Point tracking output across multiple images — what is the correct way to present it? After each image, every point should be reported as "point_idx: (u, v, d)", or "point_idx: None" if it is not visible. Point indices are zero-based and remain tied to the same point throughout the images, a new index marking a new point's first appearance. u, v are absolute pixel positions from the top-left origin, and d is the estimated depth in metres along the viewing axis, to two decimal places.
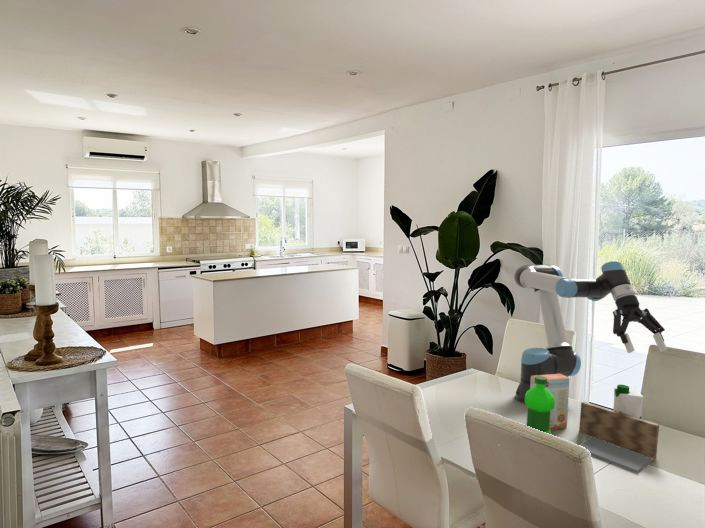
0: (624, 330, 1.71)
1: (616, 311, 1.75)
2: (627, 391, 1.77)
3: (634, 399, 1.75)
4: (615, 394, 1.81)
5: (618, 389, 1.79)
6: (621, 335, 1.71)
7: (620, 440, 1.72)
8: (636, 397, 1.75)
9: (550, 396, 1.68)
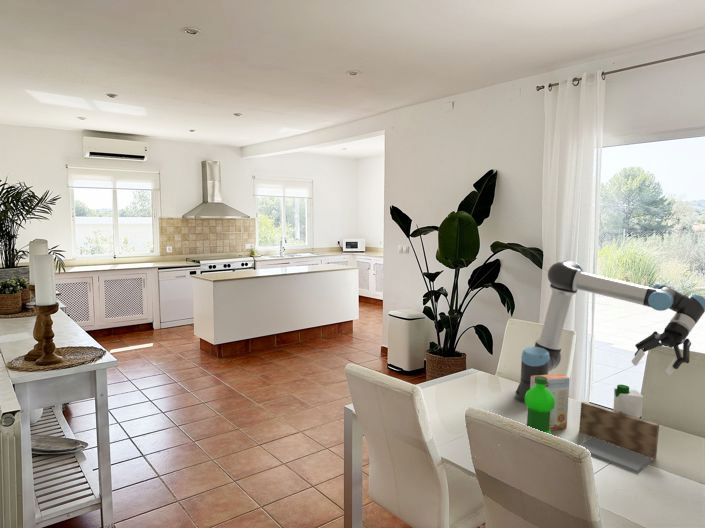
0: None
1: (690, 344, 1.78)
2: (627, 391, 1.77)
3: (634, 399, 1.75)
4: (615, 394, 1.81)
5: (618, 389, 1.79)
6: (680, 362, 1.75)
7: (620, 440, 1.72)
8: (636, 397, 1.75)
9: (550, 396, 1.68)
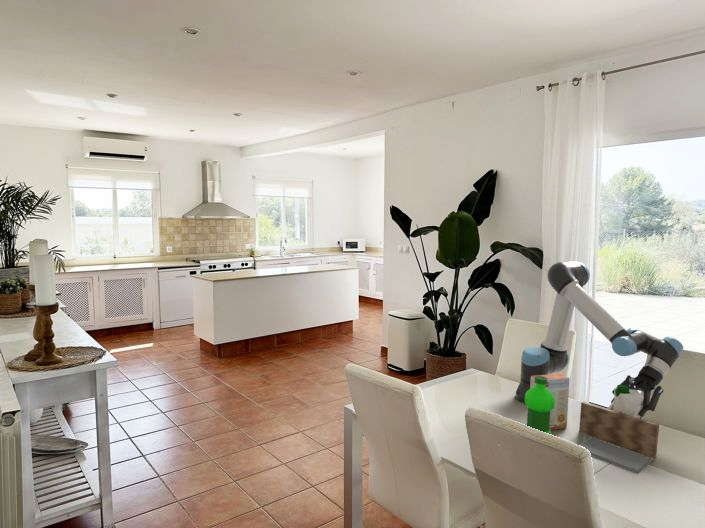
0: None
1: (662, 391, 1.75)
2: (627, 391, 1.77)
3: (634, 399, 1.75)
4: (615, 394, 1.81)
5: (618, 389, 1.78)
6: (646, 410, 1.74)
7: (620, 440, 1.72)
8: (636, 397, 1.75)
9: (550, 396, 1.68)
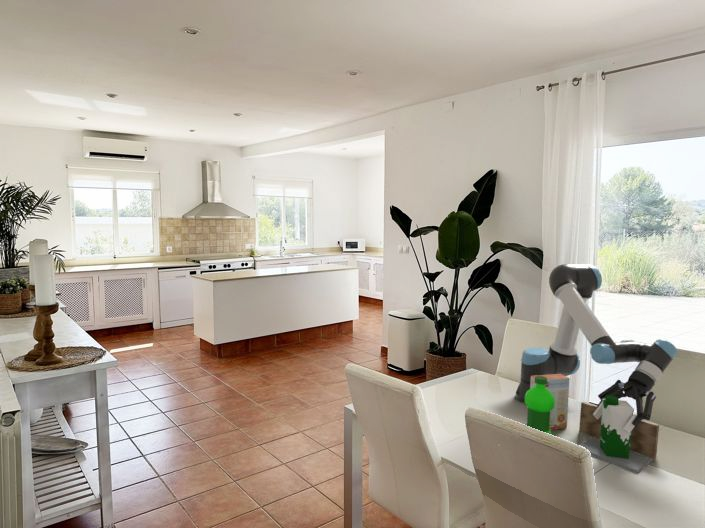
0: None
1: (654, 397, 1.61)
2: (616, 402, 1.62)
3: (623, 411, 1.60)
4: (603, 405, 1.66)
5: (606, 400, 1.64)
6: (640, 419, 1.58)
7: None
8: (626, 409, 1.60)
9: (550, 396, 1.68)
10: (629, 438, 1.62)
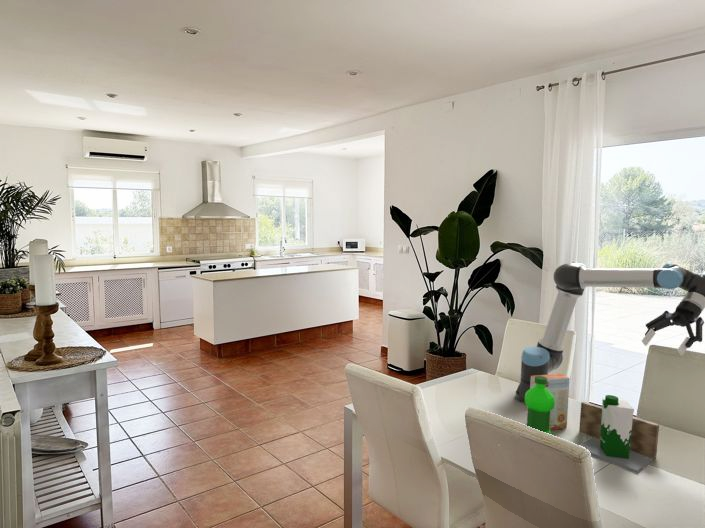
0: None
1: (703, 322, 1.73)
2: (616, 402, 1.62)
3: (623, 411, 1.60)
4: (603, 405, 1.66)
5: (606, 400, 1.64)
6: (693, 341, 1.69)
7: None
8: (626, 409, 1.60)
9: (550, 396, 1.68)
10: (629, 438, 1.62)
